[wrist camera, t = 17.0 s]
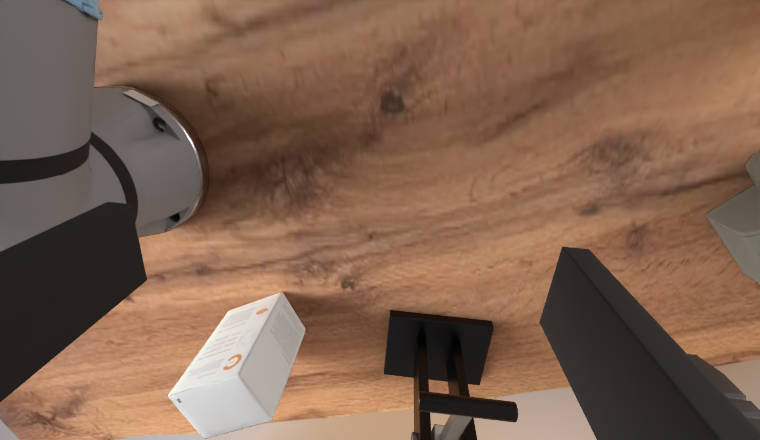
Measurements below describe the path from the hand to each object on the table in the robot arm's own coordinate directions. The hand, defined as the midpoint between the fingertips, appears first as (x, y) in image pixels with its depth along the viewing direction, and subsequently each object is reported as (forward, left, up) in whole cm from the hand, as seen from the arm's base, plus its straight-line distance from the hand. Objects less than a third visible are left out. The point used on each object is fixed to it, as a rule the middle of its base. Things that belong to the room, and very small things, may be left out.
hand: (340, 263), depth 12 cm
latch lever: (+8, -21, -13) cm, 26 cm away
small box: (-13, -25, -27) cm, 39 cm away
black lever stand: (+8, -26, -27) cm, 38 cm away
